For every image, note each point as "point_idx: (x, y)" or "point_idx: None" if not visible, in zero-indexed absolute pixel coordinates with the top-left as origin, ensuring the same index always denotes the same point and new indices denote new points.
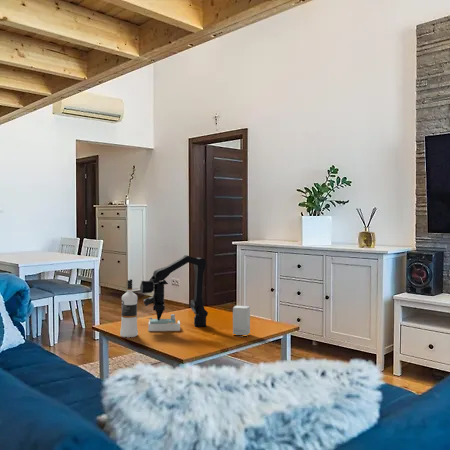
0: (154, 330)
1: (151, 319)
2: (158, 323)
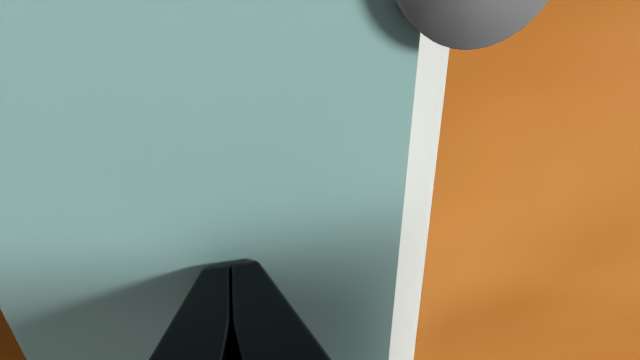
0: None
1: (316, 18)
2: None
